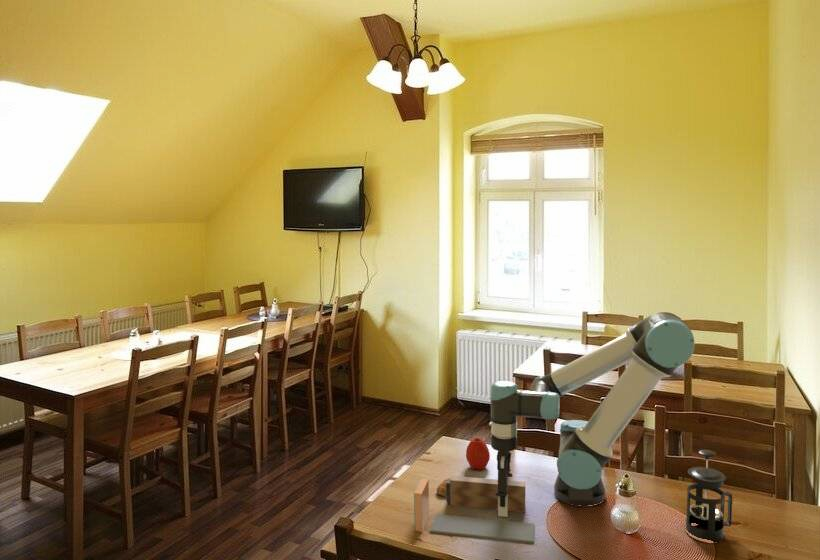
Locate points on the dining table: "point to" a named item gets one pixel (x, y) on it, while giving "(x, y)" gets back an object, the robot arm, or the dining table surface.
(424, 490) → the tile
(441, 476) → the dining table surface
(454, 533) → the mat
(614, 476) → the dining table surface
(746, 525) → the dining table surface
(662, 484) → the dining table surface
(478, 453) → the red vase
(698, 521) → the french press
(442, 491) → the pastry
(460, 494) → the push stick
